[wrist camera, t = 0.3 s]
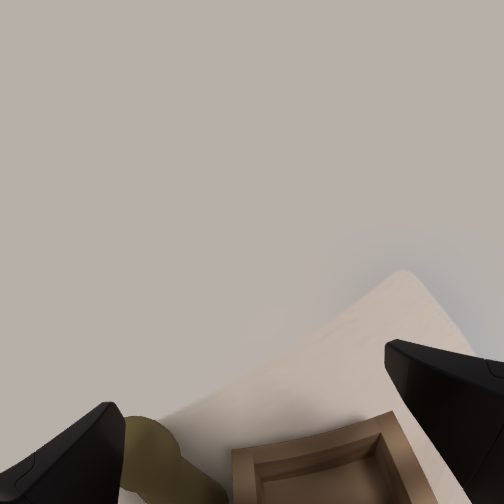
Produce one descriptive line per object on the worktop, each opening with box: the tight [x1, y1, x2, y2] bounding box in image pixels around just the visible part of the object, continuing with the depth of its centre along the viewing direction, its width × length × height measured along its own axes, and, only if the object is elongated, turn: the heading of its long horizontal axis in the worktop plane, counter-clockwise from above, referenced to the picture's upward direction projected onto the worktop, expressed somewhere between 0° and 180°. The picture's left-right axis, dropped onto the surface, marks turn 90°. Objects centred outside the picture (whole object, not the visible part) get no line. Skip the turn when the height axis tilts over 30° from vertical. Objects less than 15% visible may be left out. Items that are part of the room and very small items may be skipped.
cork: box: [120, 416, 228, 504], centre depth 13 cm, size 6×6×11 cm
